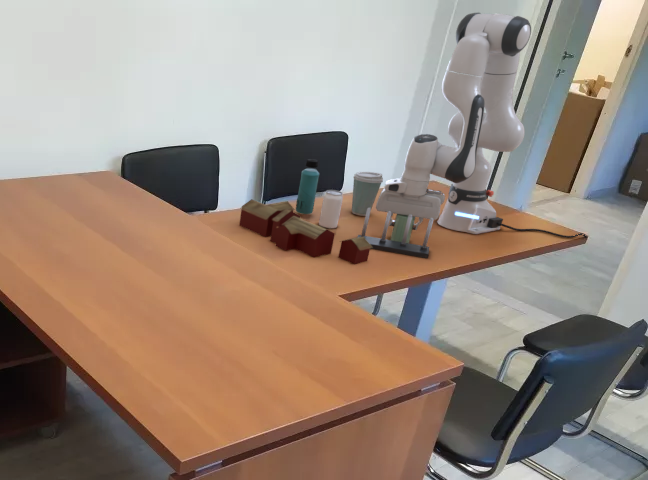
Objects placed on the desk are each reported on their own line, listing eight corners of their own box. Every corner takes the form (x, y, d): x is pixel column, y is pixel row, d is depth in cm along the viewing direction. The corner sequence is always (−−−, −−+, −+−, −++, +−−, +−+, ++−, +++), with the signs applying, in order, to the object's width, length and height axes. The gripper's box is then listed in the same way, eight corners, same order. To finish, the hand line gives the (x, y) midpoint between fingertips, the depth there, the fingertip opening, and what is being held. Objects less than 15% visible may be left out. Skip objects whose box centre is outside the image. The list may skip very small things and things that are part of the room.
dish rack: (428, 251, 232) (438, 215, 226) (427, 258, 226) (437, 222, 220) (357, 238, 239) (365, 204, 233) (354, 245, 233) (362, 210, 227)
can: (337, 229, 246) (344, 195, 240) (318, 227, 247) (324, 193, 240) (336, 224, 251) (343, 190, 245) (318, 222, 252) (324, 188, 246)
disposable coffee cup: (342, 213, 262) (350, 173, 255) (351, 206, 271) (359, 167, 263) (370, 219, 258) (379, 178, 250) (378, 212, 266) (387, 172, 258)
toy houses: (233, 226, 242) (236, 197, 237) (276, 218, 253) (281, 190, 248) (331, 271, 211) (338, 239, 206) (376, 260, 222) (383, 229, 217)
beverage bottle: (314, 215, 259) (325, 160, 248) (308, 219, 254) (318, 163, 243) (298, 211, 261) (307, 156, 251) (291, 215, 256) (300, 160, 246)
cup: (401, 237, 243) (407, 211, 238) (412, 243, 238) (419, 217, 234) (386, 238, 241) (393, 212, 237) (397, 244, 236) (404, 218, 232)
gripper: (446, 189, 230) (435, 230, 237) (382, 179, 236) (373, 220, 243) (446, 194, 225) (434, 235, 232) (380, 184, 231) (371, 225, 238)
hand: (402, 227), depth 237 cm, fingers closed on cup, 6 cm apart
